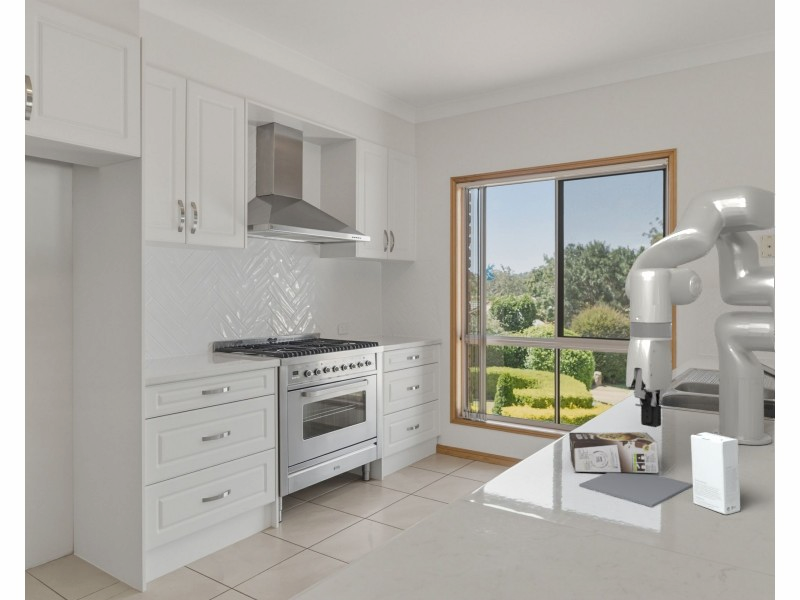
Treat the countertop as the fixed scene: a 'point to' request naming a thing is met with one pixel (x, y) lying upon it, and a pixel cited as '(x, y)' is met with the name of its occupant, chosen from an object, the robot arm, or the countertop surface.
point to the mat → (637, 487)
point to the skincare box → (715, 472)
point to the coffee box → (614, 452)
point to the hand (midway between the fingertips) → (651, 425)
